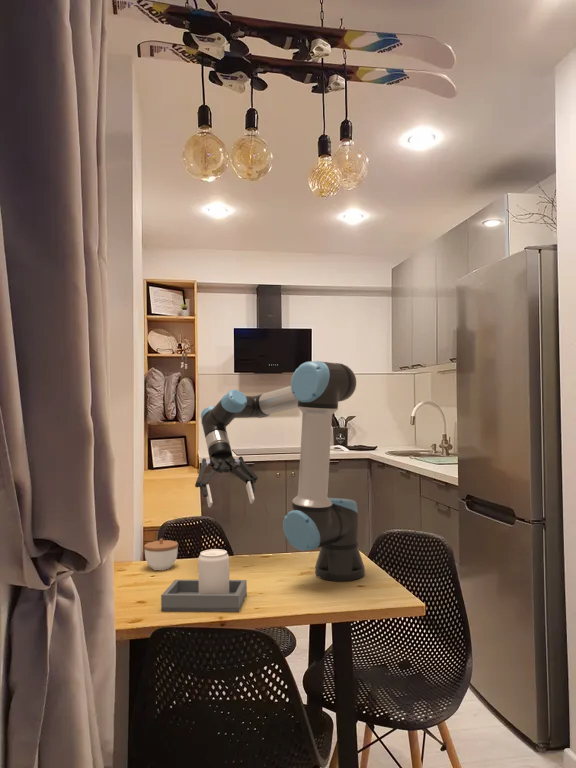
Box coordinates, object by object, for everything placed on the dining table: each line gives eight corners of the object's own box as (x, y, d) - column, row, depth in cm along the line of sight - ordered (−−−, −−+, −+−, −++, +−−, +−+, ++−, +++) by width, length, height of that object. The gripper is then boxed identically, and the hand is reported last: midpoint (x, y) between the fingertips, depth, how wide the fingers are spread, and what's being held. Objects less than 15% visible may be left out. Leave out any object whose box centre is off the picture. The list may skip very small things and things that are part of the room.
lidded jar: (185, 566, 181) (184, 537, 181) (161, 574, 172) (161, 544, 172) (161, 561, 186) (161, 534, 187) (137, 569, 177) (137, 540, 178)
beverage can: (223, 604, 141) (222, 557, 142) (193, 602, 143) (193, 555, 144) (233, 594, 149) (233, 549, 149) (205, 592, 151) (205, 548, 151)
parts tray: (246, 594, 151) (246, 579, 151) (238, 611, 138) (238, 595, 138) (175, 594, 153) (175, 579, 153) (161, 611, 140) (161, 595, 140)
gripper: (251, 452, 190) (266, 505, 177) (179, 455, 180) (190, 513, 167) (256, 439, 185) (272, 493, 172) (183, 442, 175) (194, 500, 162)
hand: (231, 503), depth 170 cm, fingers open, 13 cm apart
